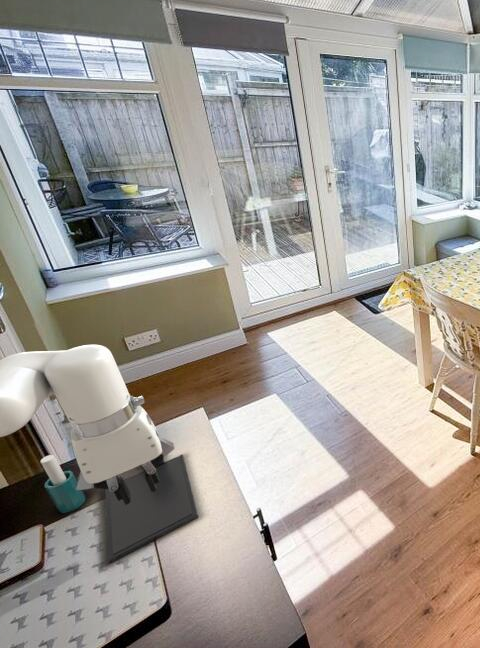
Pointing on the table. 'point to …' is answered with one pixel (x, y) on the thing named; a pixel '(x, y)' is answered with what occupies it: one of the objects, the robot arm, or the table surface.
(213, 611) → the table surface
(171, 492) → the tablet
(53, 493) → the pen pot
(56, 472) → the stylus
